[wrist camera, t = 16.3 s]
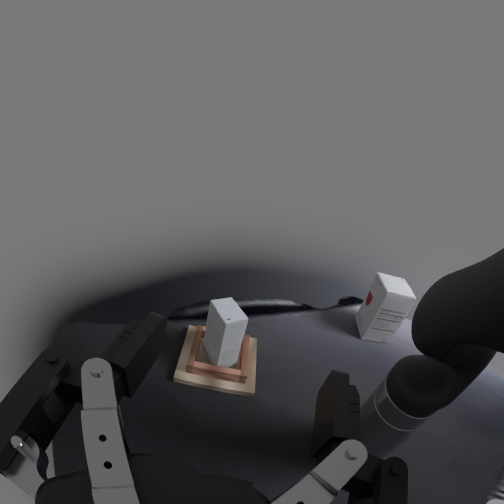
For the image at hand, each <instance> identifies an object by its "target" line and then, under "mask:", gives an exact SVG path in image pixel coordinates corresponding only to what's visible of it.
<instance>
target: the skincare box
mask: <svg viewBox="0 0 504 504" xmlns="http://www.w3.org/2000/svg"><path fill="white" fill-rule="evenodd" d="M247 322H248V317H247V316H246V315H245V314H244V312H243V311H242V310H241V309H240V307H239V306H238V305H237V304H236V302H235V301H234V300H233V298H232V297H230V298H224V299H217V300H211V301H210V306H209V312H208V318H207V324H206V330H205V337H204V343H203V351H204V353H205V354H206V356H207V358H208V360H209V361H210V363H211V365H216V366H221V367H226V368H231V367H235V366H236V362H237V359H238V355H239V351H240V348H241V344H242V341H243V337H244V333H245V330H246V326H247Z"/></svg>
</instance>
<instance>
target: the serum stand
mask: <svg viewBox="0 0 504 504" xmlns="http://www.w3.org/2000/svg"><path fill="white" fill-rule="evenodd" d="M205 330H206V327H204V326H200V325H197V327H196V326H191V325H189V328H188V331H187V334H186V338H185V341H184V344H183V347H182V351H181V354H180V357H179V361H178V364H177V367H176V371H175V374H174V377H173V382H177V383H181V384H186V385H190V386H195V387H199V388H204V389H209V390H214V391H220V392H225V393H231V394H237V395H243V396H250V397H253V396H254V394H255V373H256V346H257V339H256V338H251V337H250V335H244V337H243V341H242V344H241V348H240V351H239V355H238V359H237V362H236V366H235V367H231V368H226V367H221V366H216V365H211V363H210V361H209V360H208V358H207V356H206V354H205V353H204V351H203V343H204V337H205Z"/></svg>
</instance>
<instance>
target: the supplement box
mask: <svg viewBox="0 0 504 504" xmlns="http://www.w3.org/2000/svg"><path fill="white" fill-rule="evenodd" d="M415 300H416V297H415V296H414V294H413V292H412V290H411V288H410V287H409V286H408V284H407V283H406V281H405V279H402V278H398V277H394V276H390V275H387V274H383V273H379V272H378V273H377V274H376V276H375V278H374V281H373V283H372V285H371V287H370V289H369V291H368V293H367V295H366V298H365V299H364V301H363V303H362V305H361V307H360V309H359V311H358V313H357V315H356V317H355V319H356V323H357V326H358V330H359V334H360V337H361V339H362V340H368V341H375V342H383V343H389V342H390V341H391V339H392V338H393V336H394V335H395V333H396V332H397V330H398V328H399V327H400V325H401V324H402V322H403V320H404V319H405V317H406V315H407V314H408V312H409V310H410V308H411V307H412V305H413V303H414V301H415Z"/></svg>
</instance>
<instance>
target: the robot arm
mask: <svg viewBox="0 0 504 504" xmlns="http://www.w3.org/2000/svg"><path fill="white" fill-rule="evenodd" d="M412 339H413V342H414V344H415V346H416V348H417V349H418V350H419V351H420V352H421V353H423V354H424V355H410V356H406V357H404V358H402V359H401V360H399V361H398V362H397V363H396V364H395V365H394V367H393V368H392V369H391V371H390V372H389V373H388V375H387V376H386V377H385V379H384V380H383V381H382V382H381V384H380V385H379V386H378V387H377V389H376V390H375V391H374V392H373V394H372V395H371V396H370V397H369V398H368V400H367V401H366V402H365V403H364V404H363V405H362V407H361V408H360V406H359V405H360V396H359V393H358V391H357V389H356V387H355V386H354V385H349V374H348V373H345V372H340V371H336V370H332V371H331V373H330V374H329V376H328V377H327V379H326V380H325V382H324V384H323V385H322V387H321V388H320V390H319V392H318V396H317V401H316V412H315V422H314V431H313V440H312V449H311V457H310V458H317V459H318V460H317V465H316V466H315V467H314V468H312V469H311V470H310V471H309V472H308V473H307V474H305V475H304V476H303V477H302V478H301V479H299V480H298V481H297V482H296V483H294V484H293V485H292V486H291V487H289V488H288V489H287V490H285V491H284V492H283V493H281V494H280V495H278V496H277V497H276V498H274V499H273V500H272V501H269V499H267V498H266V497H265V496H264V495H263V494H262V493H261V492H259V491H258V490H256V489H254V488H252V484H253V482H249V481H245V480H241V479H237V478H234V477H230V476H220V475H209V474H202V473H199V472H197V471H196V470H194V469H193V468H191V467H189V466H188V465H186V464H185V463H183V462H182V461H180V460H179V459H176V458H174V457H171V456H169V455H166V454H164V453H162V452H159V451H157V450H155V451H154V453H153V454H148V453H134V454H132V453H131V449H130V446H129V442H128V439H127V435H126V430H125V426H124V421H123V416H122V411H121V405H120V400H121V399H122V397H123V396H126V397H128V398H130V399H131V397H132V396H133V394H134V393H135V391H136V390H137V388H138V387H139V385H140V384H141V382H142V381H143V379H144V378H145V376H146V375H147V373H148V372H149V370H150V368H151V367H152V365H153V364H154V362H155V361H156V359H157V358H158V356H159V355H160V353H161V352H162V350H163V348H164V346H165V342H166V317H163V316H161V315H158V314H156V313H153V312H150V313H149V314H148V315H147V317H146V318H145V319H144V320H142V319H140V318H137V319H135V320H133V321H132V322H130V323H129V324H128V325H127V326H126V327H125V328H124V329H123V331H122V332H121V333H120V334H119V335H118V337H116V339H115V340H114V341H113V342H112V343H111V344H110V346H109V347H108V348H107V349H106V350H105V351H104V353H103V354H102V355H101V356H100V357H99V358H92V359H89V360H87V361H86V362H82V361H77V360H73V359H69V358H67V356H66V354H65V352H64V351H63V350H62V349H60V348H56V347H51V348H48V349H46V350H44V351H43V352H42V353H41V354H40V355H39V357H38V358H37V359H36V360H35V361H34V362H33V363H32V365H31V366H30V367H29V368H28V370H27V371H26V372H25V373H24V374H23V376H22V377H21V378H20V379H19V380H18V381H17V383H16V384H15V385H14V387H13V388H12V389H11V390H10V392H9V393H8V394H7V395H6V397H5V398H4V399H3V401H2V402H1V403H0V473H1V474H2V475H4V476H5V477H7V478H9V479H10V480H11V481H12V482H13V483H15V484H16V485H17V486H18V487H19V488H21V489H22V490H23V491H24V492H26V493H27V494H28V495H30V496H31V497H32V498H34V499H35V504H329V503H330V502H331V501H332V500H333V499H334V498H335V497H336V496H337V492H338V491H339V490H340V489H342V490H345V491H347V492H349V499H348V504H407V497H408V468H407V465H406V463H405V462H404V461H403V460H402V459H400V458H398V457H391V458H388V459H387V460H382V458H383V457H385V456H386V455H387V454H389V453H390V452H391V451H393V450H394V449H395V448H397V447H398V446H399V445H400V444H402V443H403V442H404V441H405V440H406V439H408V438H409V437H410V436H411V434H412V433H413V432H414V431H416V430H417V429H418V428H419V427H420V426H421V425H422V424H423V423H424V422H425V421H426V420H428V419H429V418H430V417H431V416H432V415H433V414H434V413H435V412H436V411H437V410H438V409H441V408H444V407H445V406H447V405H449V404H450V403H451V402H452V401H453V400H455V399H456V398H457V397H458V396H459V395H460V394H461V393H462V392H463V391H464V390H465V389H466V388H467V387H468V386H469V385H470V384H471V383H472V382H473V381H474V380H475V379H476V377H477V376H478V375H479V374H480V373H481V372H482V371H483V370H484V369H485V367H486V366H487V365H488V364H489V362H490V361H491V359H492V358H493V357H494V355H495V354H496V352H497V351H498V352H501V353H504V249H502V250H500V251H499V252H497V253H495V254H494V255H492V256H490V257H488V258H487V259H485V260H483V261H481V262H479V263H476V264H474V265H471V266H469V267H466V268H464V269H461V270H458V271H456V272H453V273H451V274H448V275H446V276H444V277H442V278H441V279H439V280H438V281H437V282H436V283H434V284H433V285H432V286H431V288H429V290H428V291H427V292H426V293H425V295H424V296H423V297H422V299H421V300H420V302H419V304H418V306H417V308H416V310H415V313H414V316H413V321H412ZM76 402H77V403H81V404H83V409H82V410H81V420H82V430H83V438H84V445H85V451H86V457H87V463H88V468H86V469H83V470H79V471H76V472H72V473H69V474H65V475H61V476H57V477H53V478H50V479H47V475H46V470H47V467H48V463H49V461H48V456H47V454H46V453H45V450H46V449H47V447H48V446H49V444H50V442H51V441H52V439H53V438H54V436H55V434H56V433H57V431H58V430H59V428H60V426H61V425H62V423H63V422H64V420H65V419H66V417H67V416H68V414H69V413H70V411H71V409H72V408H73V406H74V405H75V403H76Z"/></svg>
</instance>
